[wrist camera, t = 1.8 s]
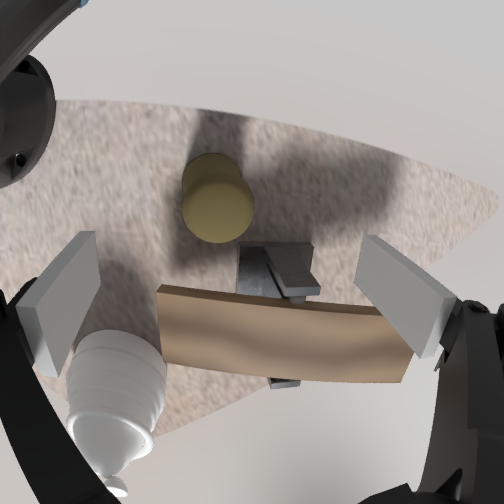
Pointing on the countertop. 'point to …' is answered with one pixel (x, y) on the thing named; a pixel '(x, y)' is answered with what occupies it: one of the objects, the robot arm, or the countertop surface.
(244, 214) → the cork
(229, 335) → the seesaw plank
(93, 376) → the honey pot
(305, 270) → the seesaw stand
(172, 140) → the countertop surface
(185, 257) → the countertop surface
